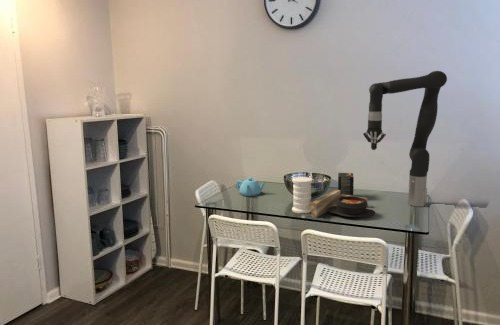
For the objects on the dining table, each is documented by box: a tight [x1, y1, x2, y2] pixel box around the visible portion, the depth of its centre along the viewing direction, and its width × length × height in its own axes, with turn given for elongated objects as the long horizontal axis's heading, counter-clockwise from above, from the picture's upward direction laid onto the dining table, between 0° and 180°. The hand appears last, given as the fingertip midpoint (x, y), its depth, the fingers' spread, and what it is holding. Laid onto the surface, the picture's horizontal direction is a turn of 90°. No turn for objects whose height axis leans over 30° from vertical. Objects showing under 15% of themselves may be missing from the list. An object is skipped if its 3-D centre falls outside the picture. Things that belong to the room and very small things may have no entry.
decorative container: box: [291, 176, 313, 214], centre depth 231 cm, size 12×12×18 cm
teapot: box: [234, 177, 267, 197], centre depth 268 cm, size 15×15×11 cm
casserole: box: [327, 195, 376, 219], centre depth 223 cm, size 25×19×8 cm
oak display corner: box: [310, 189, 369, 219], centre depth 228 cm, size 18×32×8 cm, turn 143°
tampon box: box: [337, 172, 355, 196], centre depth 254 cm, size 11×9×15 cm
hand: (373, 149), depth 237 cm, fingers closed
